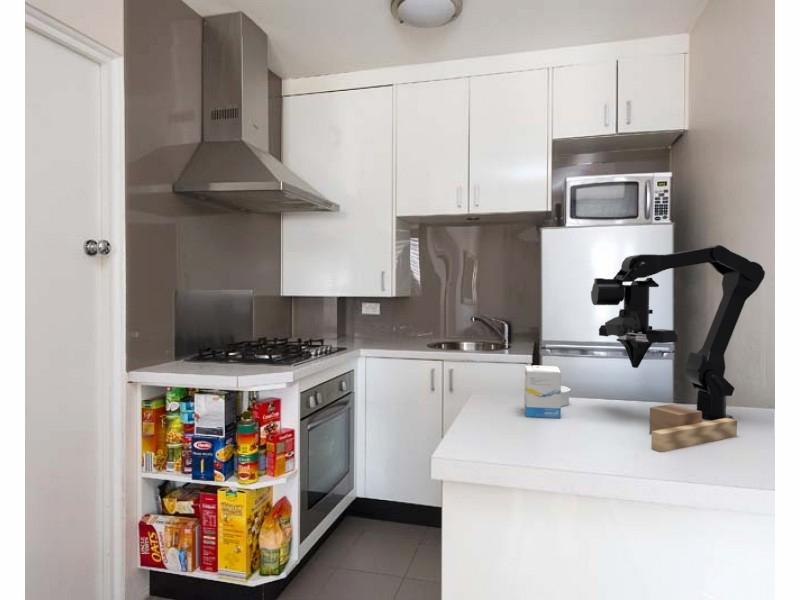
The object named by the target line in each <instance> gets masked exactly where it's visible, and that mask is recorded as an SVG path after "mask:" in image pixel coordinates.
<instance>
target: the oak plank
mask: <svg viewBox="0 0 800 600" xmlns="http://www.w3.org/2000/svg"><path fill="white" fill-rule="evenodd" d="M733 437H738V419H734V418H723V419H718V420H708V421H707V420H706V421H702V422H701V423H696V424H690V425H684V426H679V427H673V428H668V429H662V430H657V431H652V434H651V441H650V442H651V447H650V449H651V450H655V451H657V452H660V453H661V452H666V451H671V450H676V449H681V448H686V447H691V446H695V445H700V444H706V443H711V442H715V441H719V440H725V439H729V438H733Z"/></svg>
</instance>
